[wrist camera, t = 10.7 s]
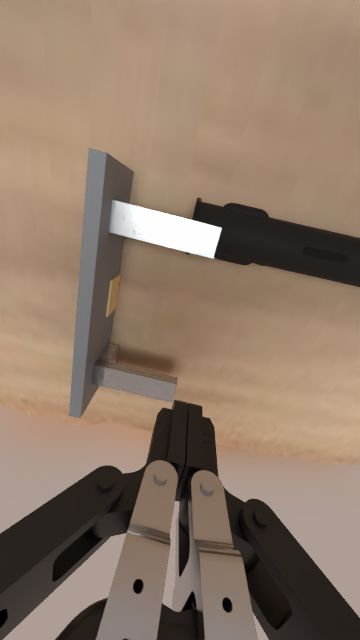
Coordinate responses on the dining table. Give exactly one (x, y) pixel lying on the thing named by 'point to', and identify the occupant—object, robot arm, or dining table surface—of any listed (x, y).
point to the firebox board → (97, 272)
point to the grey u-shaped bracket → (164, 233)
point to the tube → (281, 243)
